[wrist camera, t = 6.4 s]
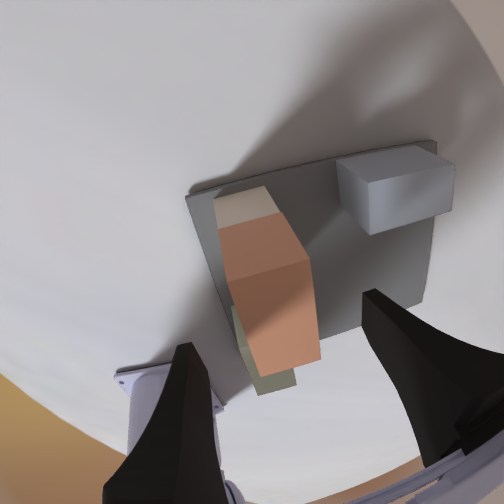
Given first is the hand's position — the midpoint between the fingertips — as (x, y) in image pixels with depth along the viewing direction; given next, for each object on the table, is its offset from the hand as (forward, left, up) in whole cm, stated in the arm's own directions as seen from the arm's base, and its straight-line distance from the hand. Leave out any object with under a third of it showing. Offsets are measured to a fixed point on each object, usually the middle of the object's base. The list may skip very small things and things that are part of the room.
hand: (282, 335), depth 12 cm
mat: (-4, -6, -9) cm, 11 cm away
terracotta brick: (0, 0, -4) cm, 4 cm away
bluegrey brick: (+2, -9, -8) cm, 12 cm away
